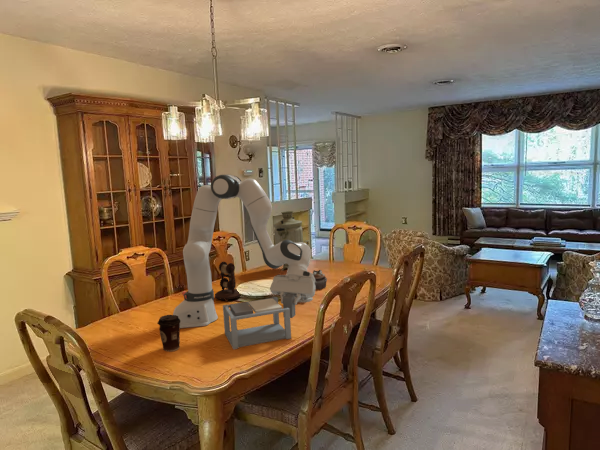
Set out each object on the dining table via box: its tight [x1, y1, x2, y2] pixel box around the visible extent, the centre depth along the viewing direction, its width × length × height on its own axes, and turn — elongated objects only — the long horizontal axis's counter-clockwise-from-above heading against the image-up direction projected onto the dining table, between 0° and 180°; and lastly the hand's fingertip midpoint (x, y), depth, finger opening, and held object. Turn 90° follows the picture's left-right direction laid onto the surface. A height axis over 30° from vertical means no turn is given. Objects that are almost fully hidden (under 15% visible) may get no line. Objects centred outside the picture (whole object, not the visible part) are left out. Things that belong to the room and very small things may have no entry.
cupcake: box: [312, 269, 328, 290], centre depth 242 cm, size 10×10×10 cm
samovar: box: [273, 210, 313, 271], centre depth 286 cm, size 30×26×40 cm
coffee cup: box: [156, 314, 181, 352], centre depth 165 cm, size 9×8×13 cm
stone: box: [282, 294, 296, 319], centre depth 180 cm, size 4×4×9 cm
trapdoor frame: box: [222, 296, 292, 350], centre depth 174 cm, size 24×18×12 cm
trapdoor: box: [229, 297, 283, 317], centre depth 173 cm, size 19×13×3 cm
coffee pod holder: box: [214, 261, 241, 303], centre depth 228 cm, size 15×15×20 cm
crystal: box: [295, 296, 314, 303], centre depth 220 cm, size 10×13×15 cm
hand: (288, 303), depth 179 cm, fingers closed on stone, 4 cm apart
